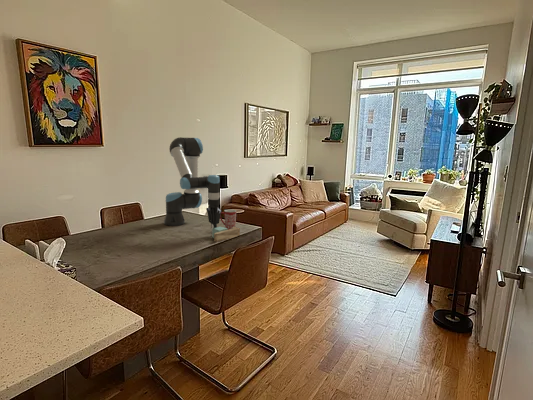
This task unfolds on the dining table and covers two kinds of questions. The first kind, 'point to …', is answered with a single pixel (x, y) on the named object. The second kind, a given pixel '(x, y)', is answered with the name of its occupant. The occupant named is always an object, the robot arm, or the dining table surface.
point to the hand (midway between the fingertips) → (214, 233)
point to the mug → (229, 218)
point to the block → (217, 230)
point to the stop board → (227, 234)
